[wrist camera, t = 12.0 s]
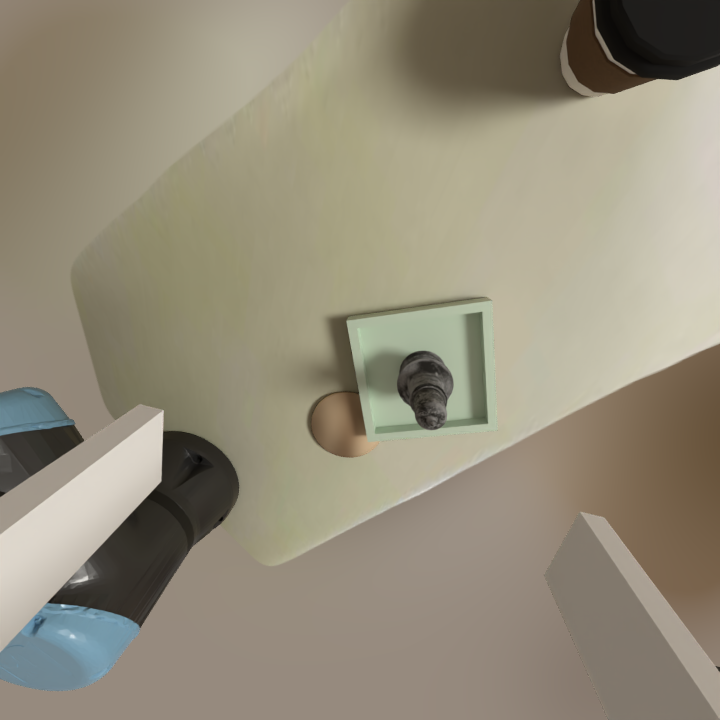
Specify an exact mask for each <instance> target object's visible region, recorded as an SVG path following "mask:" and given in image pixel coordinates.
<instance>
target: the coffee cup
mask: <svg viewBox="0 0 720 720" xmlns="http://www.w3.org/2000/svg"><path fill="white" fill-rule="evenodd" d="M560 60H561V69H562V75H563V77H564V78H565V80H566V82H567V84H568V85H569V87H570V88H572V89H573V90H575V91H577V92H578V93H580V94H581V95H584V96H597V97H599V96H602V95H605V94H607V93H611V94H615V93H618V92H621V91H623V90H626V89H629V88H632V87H635V86H638V85H641V84H644V83H647V82H650V81H653V80H656V79H667V80H679V79H682V78H685V77H688V76H691V75H693V74H696V73H699V72H702V71H705V70H708V69H711V68H713V67H716V66H718V65H720V0H580V2H579V4H578V6H577V8H576V10H575V12H574V14H573V16H572V18H571V23H570V26H569V28H568V30H567V32H566V34H565V36H564V40H563V44H562V49H561V53H560Z"/></svg>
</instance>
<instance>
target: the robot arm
mask: <svg viewBox="0 0 720 720" xmlns="http://www.w3.org/2000/svg"><path fill="white" fill-rule="evenodd" d="M163 413H164V410H161V409H157V408H153V407H149V406H145V405H140V404H139V405H138V406H136V407H135V408H133V409H132V410H130V411H129V412H127V413H126V414H124V415H123V416H121V417H120V418H118V419H117V420H115V421H114V422H112V423H111V424H109V425H108V426H106V427H105V428H103V429H102V430H100V431H99V432H97V433H96V434H94V435H93V436H91V437H90V438H88V439H87V440H85V441H84V439H83V438H82V436H81V435H80V433H79V432H78V430H77V429H76V427H75V426H74V424H75V422H74V420H72V419H69V417H68V416H67V415H66V414H65V412H64V411H63V410H62V409H61V407H60V406H59V405H58V404H57V402H56V401H55V400H54V399H53V397H52V396H51V395H50V394H49V393H48V392H46V391H44V390H42V389H39V388H33V387H23V388H18V389H14V390H9V391H6V392H2V393H0V679H2V680H4V681H7V682H10V683H13V684H16V685H20V686H24V687H28V688H33V689H39V690H47V691H68V690H75V689H79V688H82V687H86V686H88V685H90V684H92V683H94V682H96V681H98V680H99V679H101V678H102V677H103V676H104V675H105V674H106V673H107V672H108V671H109V670H110V669H111V668H112V667H113V665H114V664H115V663H116V661H117V660H118V658H119V657H120V656H121V654H122V653H123V651H124V650H125V649H126V648H127V646H128V645H129V644H130V642H131V641H132V640H133V639H134V638H135V637H136V636H137V635H138V633H139V630H140V628H141V626H142V624H143V623H144V621H145V620H146V618H147V616H148V615H149V613H150V612H151V610H152V608H153V607H154V605H155V604H156V602H157V601H158V599H159V598H160V596H161V594H162V593H163V591H164V590H165V588H166V587H167V585H168V583H169V582H170V580H171V579H172V577H173V576H174V574H175V573H176V571H177V569H178V568H179V566H180V565H181V563H182V562H183V560H184V558H185V557H186V555H187V554H188V552H189V551H190V549H191V548H192V547H193V546H194V545H195V544H196V543H197V542H199V541H200V540H201V539H202V538H204V537H205V536H206V535H207V534H209V533H210V532H211V531H212V530H213V529H214V528H216V527H217V526H218V525H220V524H221V523H222V522H223V521H224V520H225V519H226V517H227V516H228V514H229V513H230V511H231V510H232V508H233V506H234V505H235V503H236V500H237V498H238V493H239V482H238V477H237V474H236V471H235V469H234V467H233V465H232V464H231V462H230V461H229V459H228V458H227V457H226V456H225V454H224V453H223V452H222V451H220V450H219V449H218V448H217V447H216V446H214V445H213V444H212V443H210V442H208V441H207V440H205V439H203V438H201V437H198V436H195V435H192V434H189V433H184V432H164V433H163ZM544 576H545V579H546V581H547V583H548V586H549V588H550V590H551V592H552V595H553V597H554V599H555V601H556V604H557V606H558V608H559V610H560V613H561V615H562V617H563V619H564V622H565V624H566V626H567V628H568V630H569V633H570V635H571V637H572V640H573V642H574V644H575V646H576V649H577V651H578V653H579V656H580V658H581V660H582V662H583V665H584V667H585V669H586V671H587V674H588V676H589V678H590V680H591V683H592V685H593V687H594V689H595V692H596V694H597V696H598V698H599V701H600V703H601V705H602V707H603V710H604V712H605V714H606V717H607V719H608V720H720V667H717V666H715V665H714V664H713V663H712V661H711V660H710V659H709V657H708V656H707V654H706V653H705V652H704V651H703V649H702V648H701V646H700V645H699V644H698V643H697V641H696V640H695V638H694V637H693V636H692V634H691V633H690V632H689V630H688V629H687V628H686V626H685V625H684V624H683V622H682V621H681V620H680V618H679V617H678V616H677V614H676V613H675V612H674V611H673V609H672V608H671V606H670V605H669V604H668V602H667V601H666V600H665V598H664V597H663V596H662V594H661V593H660V592H659V590H658V589H657V588H656V586H655V585H654V584H653V582H652V581H651V579H650V578H649V577H648V576H647V574H646V573H645V571H644V570H643V569H642V567H641V566H640V565H639V563H638V562H637V561H636V559H635V558H634V557H633V555H632V554H631V553H630V551H629V550H628V549H627V547H626V546H625V545H624V543H623V542H622V541H621V539H620V538H619V537H618V535H617V534H616V533H615V532H614V530H613V529H612V527H611V526H610V525H609V523H608V522H607V521H606V519H605V518H604V517H600V516H596V515H592V514H588V513H584V512H579V514H578V515H577V517H576V519H575V521H574V522H573V524H572V526H571V528H570V530H569V531H568V533H567V535H566V537H565V539H564V540H563V542H562V544H561V546H560V548H559V549H558V551H557V553H556V555H555V557H554V558H553V560H552V562H551V564H550V565H549V567H548V569H547V571H546V573H545V575H544Z"/></svg>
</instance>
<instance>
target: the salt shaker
mask: <svg viewBox="0 0 720 720" xmlns="http://www.w3.org/2000/svg"><path fill="white" fill-rule="evenodd" d="M399 373H400V374H399V376H398V380H397V390H398V393H399V395H400V397H401V398H402V400H403V401H404V402H405V403H406V404H408V405H409V406H410V407H411V409H412V410H413V412H414V413H415V419H416V421H417V423H418V424H419V425H420V426H421V427H422V428H424V429H426V430H437V429H439V428H441V427H442V426H443V425H444V424H445V422H446V420H447V410H446V406H447V400H448V399H449V397H450V395H451V394H452V391H453V387H454V383H453V377H452V374H451V372H450V371H449V369H448V368H447V367H446V366H445V364H444V362H443V360H442V359H441V358H440V357H439V356H438V355H437V354H435V353H433V352H430V351H417V352H414V353H412V354H410V355H408V356H407V357H406V358H405V359H404V360H403V362H402V364H401V366H400V371H399Z"/></svg>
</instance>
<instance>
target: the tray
mask: <svg viewBox="0 0 720 720" xmlns="http://www.w3.org/2000/svg"><path fill="white" fill-rule="evenodd" d="M347 327H348V333H349V338H350V344H351V350H352V355H353V361H354V367H355V372H356V378H357V384H358V389H359V395H360V401H361V406H362V412H363V418H364V423H365V429H366V435H367V440H368V442H376V441H387V440H399V439H410V438H421V437H432V436H444V435H455V434H466V433H478V432H489V431H498V427H497V403H496V380H495V356H494V332H493V308H492V300H491V299H489V298H488V297H484V298H477V299H470V300H463V301H456V302H449V303H441V304H434V305H427V306H420V307H413V308H406V309H399V310H392V311H384V312H377V313H370V314H363V315H356V316H349V317H348V319H347ZM417 351H430V352H433V353H435V354H437V355H438V356H439V357H440V358H441V359H442V360H443V362H444V364H445V366H446V367H447V368H448V369H449V371H450V372H451V374H452V377H453V383H454V387H453V391H452V394H451V395H450V397H449V399H448V400H447V406H446V410H447V420H446V422H445V424H444V425H443V426H442V427H441V428H439V429H437V430H426V429H424V428H422V427H421V426H420V425H419V424H418V423H417V421H416V419H415V413H414V412H413V410H412V409H411V407H410V406H409V405H408V404H406V403H405V402H404V401H403V400H402V398H401V397H400V395H399V393H398V390H397V380H398V376H399V374H400V373H399V371H400V366H401V364H402V362H403V360H404V359H405V358H406V357H407V356H408V355H410V354H412V353H414V352H417Z"/></svg>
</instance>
